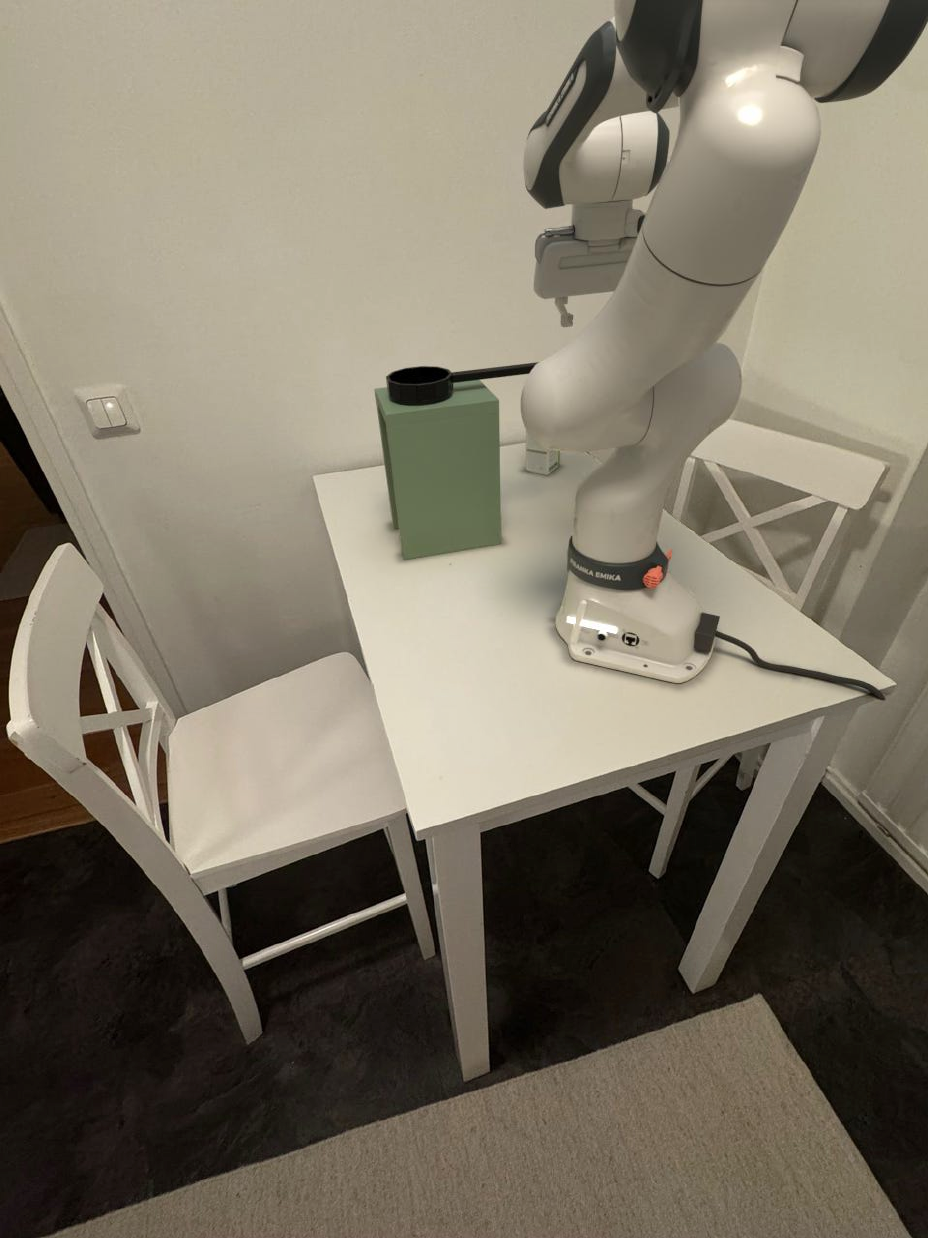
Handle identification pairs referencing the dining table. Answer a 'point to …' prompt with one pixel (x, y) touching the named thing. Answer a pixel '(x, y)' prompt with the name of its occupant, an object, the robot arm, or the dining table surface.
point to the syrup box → (540, 458)
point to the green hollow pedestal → (443, 470)
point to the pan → (439, 382)
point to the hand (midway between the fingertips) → (593, 322)
